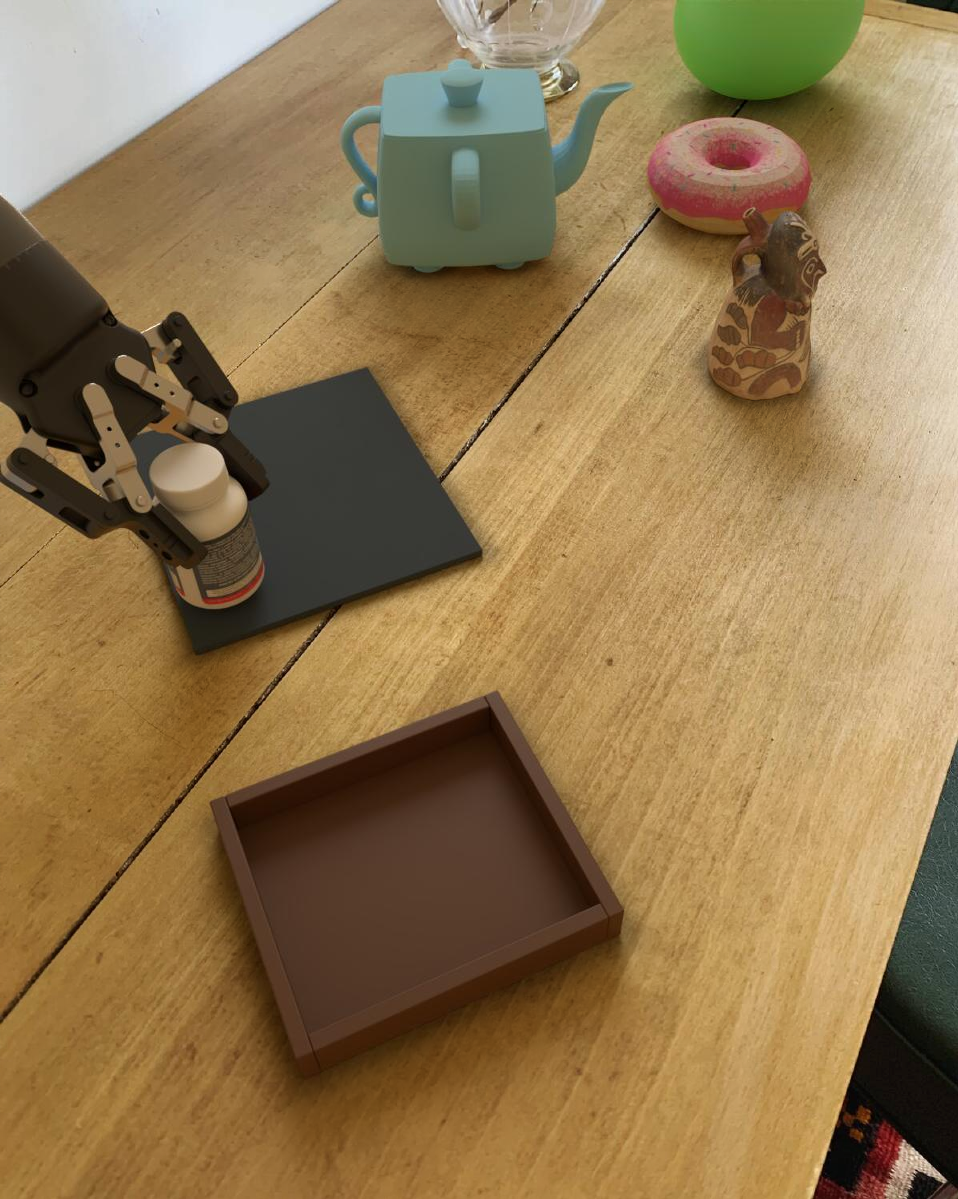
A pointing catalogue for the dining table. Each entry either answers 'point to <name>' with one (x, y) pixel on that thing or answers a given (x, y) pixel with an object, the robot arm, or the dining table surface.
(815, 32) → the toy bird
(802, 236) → the figurine
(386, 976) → the tray
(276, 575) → the mat
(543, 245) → the teapot
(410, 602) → the dining table surface
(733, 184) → the donut
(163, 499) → the pill bottle
